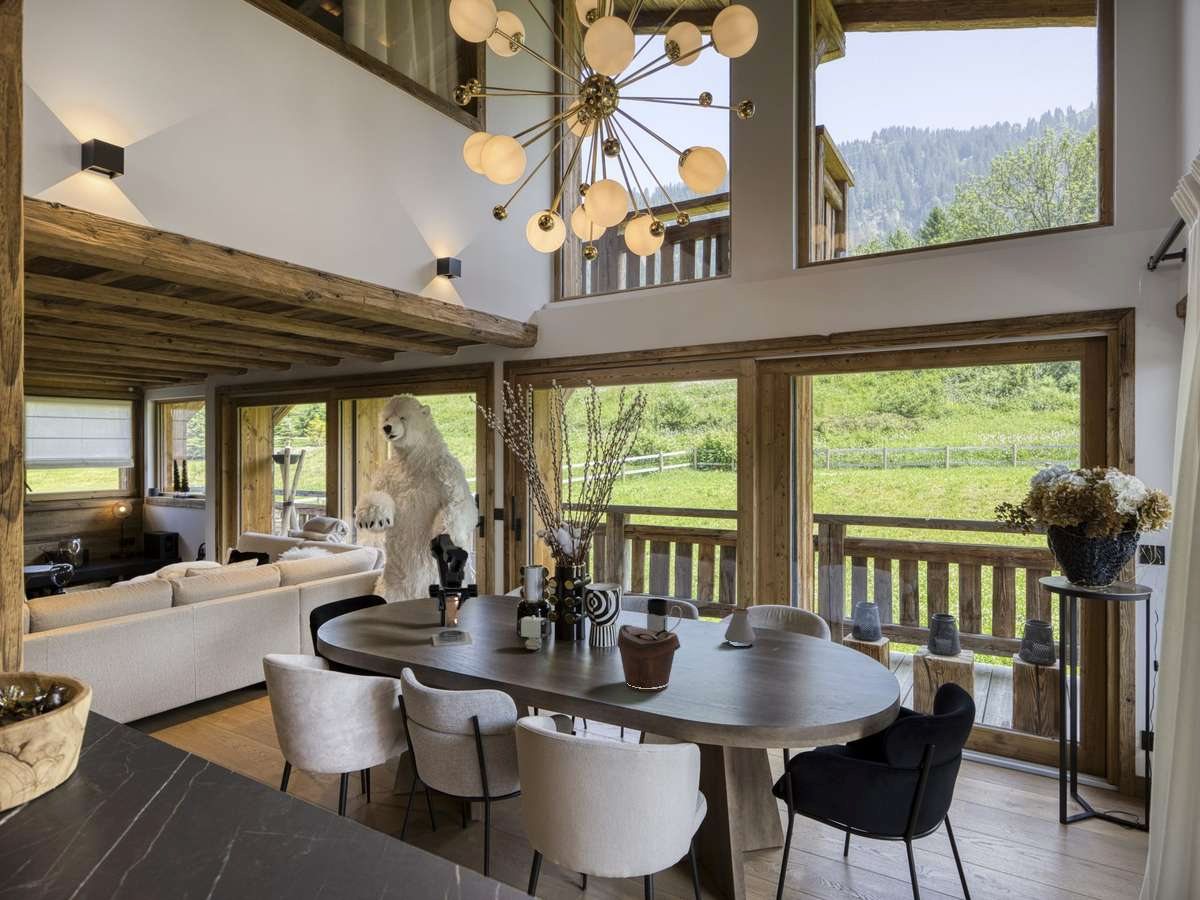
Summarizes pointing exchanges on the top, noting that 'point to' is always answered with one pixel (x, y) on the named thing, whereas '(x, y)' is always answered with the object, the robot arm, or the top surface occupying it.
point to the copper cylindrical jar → (451, 612)
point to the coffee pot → (740, 626)
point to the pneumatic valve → (533, 630)
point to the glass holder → (658, 615)
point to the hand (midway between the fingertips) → (451, 609)
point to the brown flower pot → (646, 656)
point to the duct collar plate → (451, 638)
